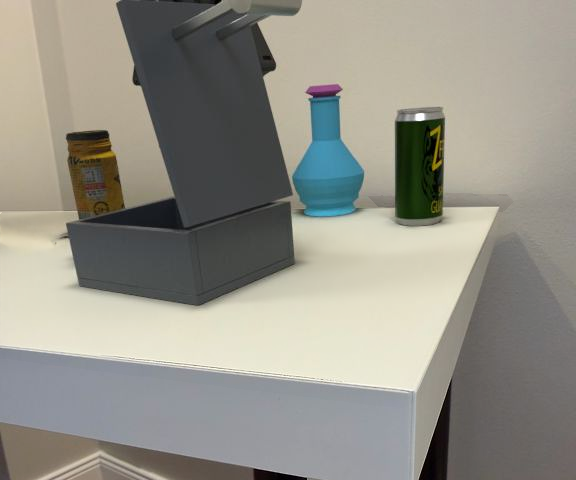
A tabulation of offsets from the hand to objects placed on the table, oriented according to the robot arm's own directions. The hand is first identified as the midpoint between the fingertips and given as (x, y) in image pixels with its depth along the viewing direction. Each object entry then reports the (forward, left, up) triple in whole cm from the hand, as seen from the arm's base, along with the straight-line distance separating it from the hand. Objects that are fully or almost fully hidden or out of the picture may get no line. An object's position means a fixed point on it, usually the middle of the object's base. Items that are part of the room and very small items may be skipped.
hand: (209, 145), depth 79 cm
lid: (+19, -20, +4) cm, 27 cm away
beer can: (+24, +8, -10) cm, 27 cm away
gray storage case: (+13, -20, -10) cm, 25 cm away
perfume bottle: (+10, +11, -10) cm, 18 cm away
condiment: (-14, -7, -10) cm, 19 cm away
